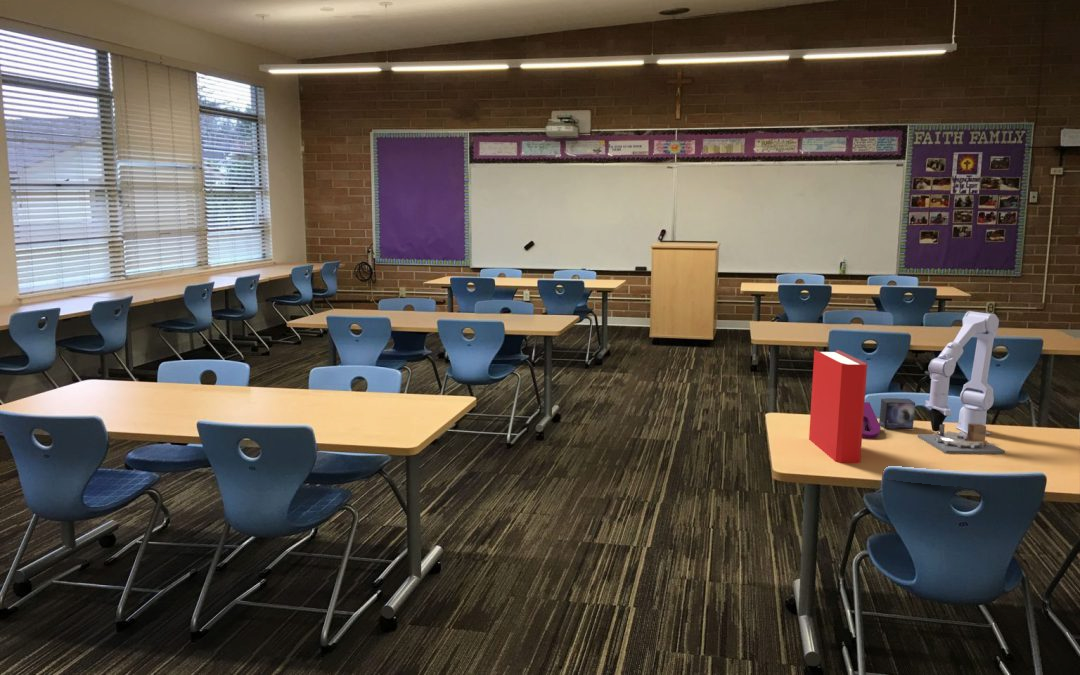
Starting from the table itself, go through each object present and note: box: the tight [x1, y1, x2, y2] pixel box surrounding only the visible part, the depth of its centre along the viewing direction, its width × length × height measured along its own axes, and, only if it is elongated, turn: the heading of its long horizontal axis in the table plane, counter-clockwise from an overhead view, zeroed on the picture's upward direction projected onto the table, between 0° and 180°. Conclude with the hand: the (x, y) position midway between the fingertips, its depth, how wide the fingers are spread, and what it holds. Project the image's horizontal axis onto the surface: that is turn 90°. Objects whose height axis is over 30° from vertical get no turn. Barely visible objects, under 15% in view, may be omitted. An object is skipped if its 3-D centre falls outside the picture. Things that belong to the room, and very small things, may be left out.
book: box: [808, 349, 868, 464], centre depth 282 cm, size 27×8×32 cm, turn 1°
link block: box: [966, 424, 987, 441], centre depth 290 cm, size 4×4×5 cm
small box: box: [878, 397, 916, 430], centre depth 314 cm, size 11×6×10 cm, turn 88°
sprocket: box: [934, 423, 988, 448], centre depth 292 cm, size 16×16×5 cm
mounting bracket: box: [862, 401, 882, 439], centre depth 309 cm, size 9×8×18 cm
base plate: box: [917, 433, 1006, 455], centre depth 292 cm, size 20×20×6 cm
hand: (935, 430), depth 298 cm, fingers closed
